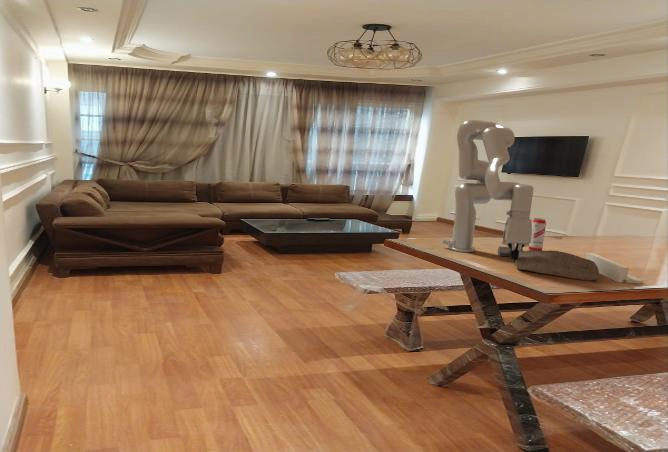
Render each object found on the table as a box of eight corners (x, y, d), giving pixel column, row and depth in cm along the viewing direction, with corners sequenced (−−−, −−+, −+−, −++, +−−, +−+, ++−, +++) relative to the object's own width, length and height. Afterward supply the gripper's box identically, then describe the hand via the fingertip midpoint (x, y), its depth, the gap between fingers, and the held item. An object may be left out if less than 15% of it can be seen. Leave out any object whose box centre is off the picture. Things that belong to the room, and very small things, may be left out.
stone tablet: (515, 272, 180) (599, 283, 170) (517, 252, 179) (603, 262, 169) (513, 261, 199) (589, 271, 189) (516, 243, 198) (593, 252, 188)
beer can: (544, 252, 219) (549, 220, 216) (531, 251, 219) (536, 219, 216) (538, 249, 225) (543, 218, 223) (526, 248, 225) (530, 217, 223)
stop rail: (618, 282, 173) (621, 267, 172) (584, 265, 197) (586, 252, 196) (642, 283, 173) (645, 268, 172) (605, 267, 197) (607, 253, 196)
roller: (500, 244, 205) (497, 249, 209) (501, 252, 203) (498, 257, 206) (522, 246, 205) (518, 251, 209) (523, 254, 203) (520, 259, 207)
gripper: (504, 215, 177) (498, 260, 180) (542, 217, 177) (535, 262, 180) (497, 212, 184) (492, 256, 187) (534, 215, 184) (527, 258, 188)
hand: (513, 259), depth 184 cm, fingers closed
